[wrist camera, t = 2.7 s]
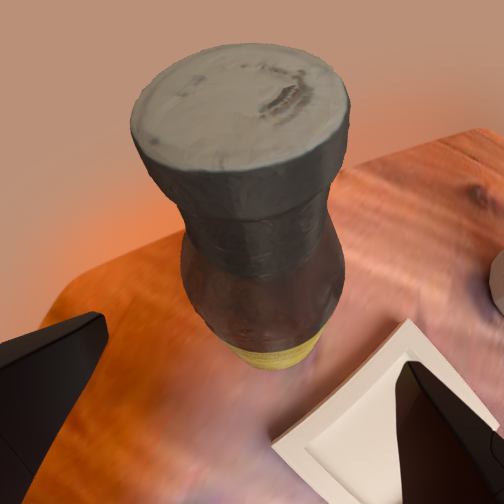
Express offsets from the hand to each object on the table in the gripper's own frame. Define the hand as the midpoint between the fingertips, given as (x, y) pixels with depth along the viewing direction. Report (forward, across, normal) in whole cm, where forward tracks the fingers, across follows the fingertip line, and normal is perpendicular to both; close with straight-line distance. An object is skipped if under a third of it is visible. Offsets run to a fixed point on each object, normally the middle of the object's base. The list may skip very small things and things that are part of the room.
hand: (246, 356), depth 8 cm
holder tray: (+7, -10, +13) cm, 18 cm away
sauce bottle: (+13, 0, +8) cm, 15 cm away
